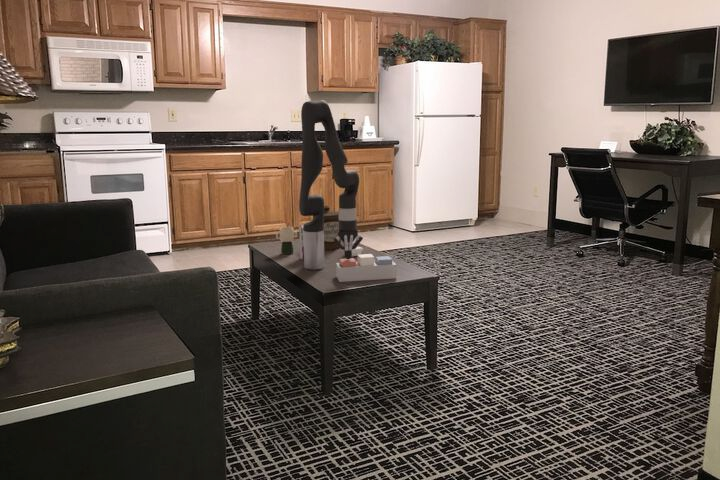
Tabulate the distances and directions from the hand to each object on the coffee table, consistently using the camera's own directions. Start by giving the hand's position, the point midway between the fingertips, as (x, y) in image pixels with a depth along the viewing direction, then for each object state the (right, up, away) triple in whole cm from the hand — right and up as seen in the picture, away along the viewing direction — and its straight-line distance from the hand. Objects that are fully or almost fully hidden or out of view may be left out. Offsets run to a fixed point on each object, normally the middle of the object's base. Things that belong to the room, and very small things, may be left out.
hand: (348, 258), depth 247 cm
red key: (0, -5, +1) cm, 6 cm away
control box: (+8, -8, +3) cm, 12 cm away
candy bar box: (-18, -1, +38) cm, 42 cm away
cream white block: (+8, -4, +2) cm, 9 cm away
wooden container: (-12, +4, +63) cm, 64 cm away
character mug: (-32, +1, +48) cm, 58 cm away
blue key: (+15, -5, +4) cm, 16 cm away
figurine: (+2, 0, +44) cm, 44 cm away
